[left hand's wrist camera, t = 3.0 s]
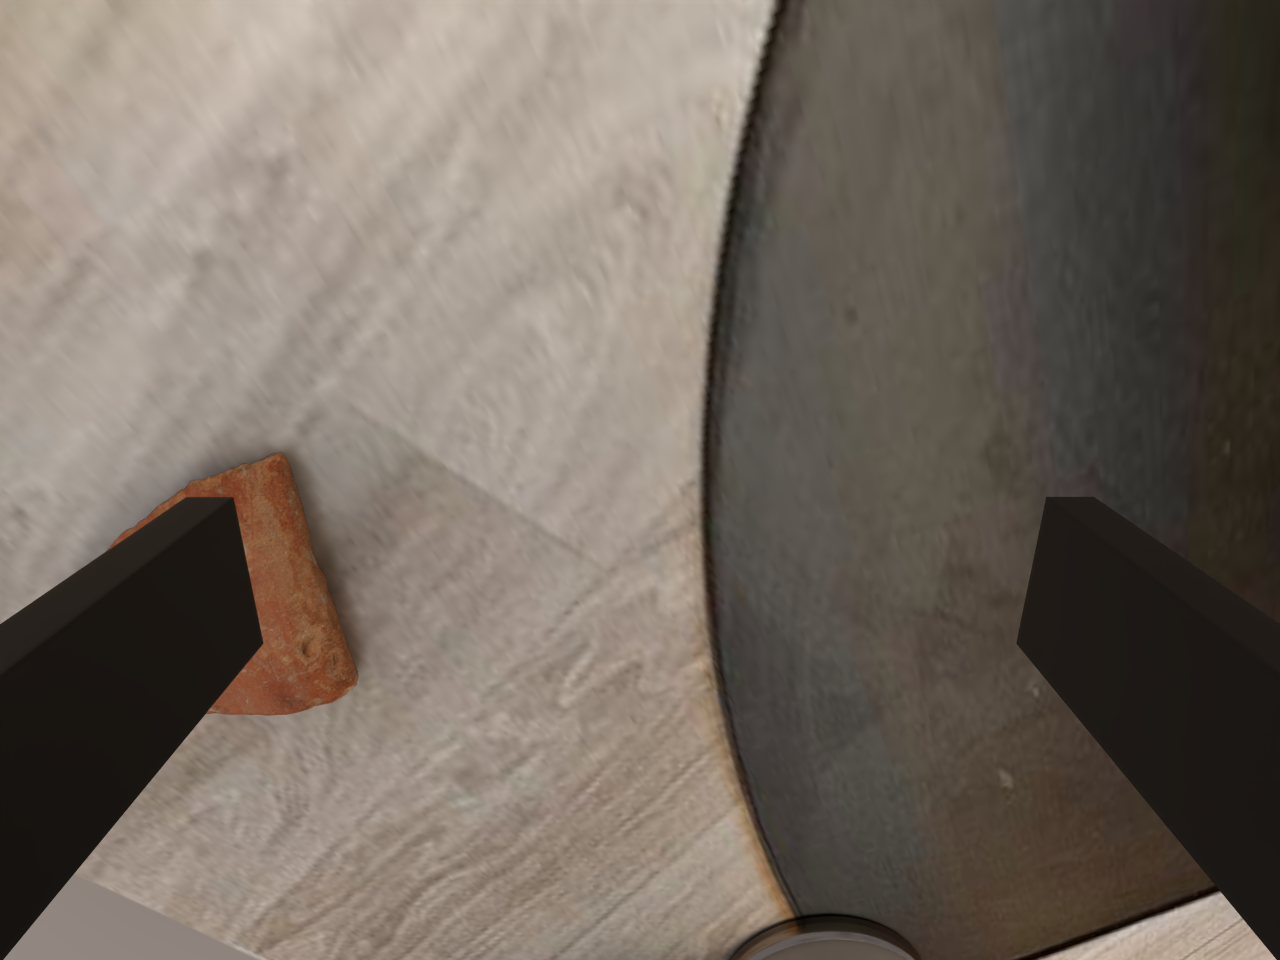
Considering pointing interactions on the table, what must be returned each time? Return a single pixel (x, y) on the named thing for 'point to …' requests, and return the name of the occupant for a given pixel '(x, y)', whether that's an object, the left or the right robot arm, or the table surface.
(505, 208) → the table surface
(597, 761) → the table surface
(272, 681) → the ceramic shard
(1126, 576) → the left robot arm
